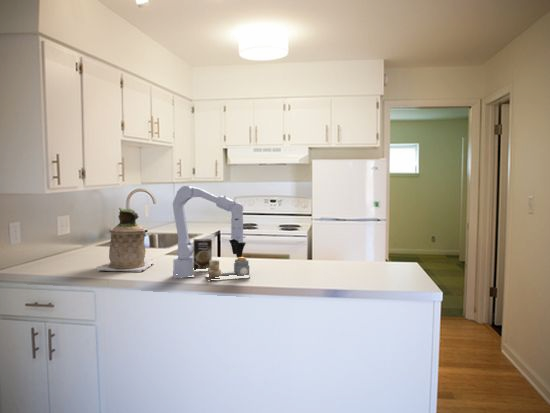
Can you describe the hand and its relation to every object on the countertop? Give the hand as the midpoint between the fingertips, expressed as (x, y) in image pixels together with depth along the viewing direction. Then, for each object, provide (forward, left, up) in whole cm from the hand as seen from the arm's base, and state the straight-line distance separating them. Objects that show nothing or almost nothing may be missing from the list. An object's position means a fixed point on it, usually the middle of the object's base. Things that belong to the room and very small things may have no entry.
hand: (237, 255), depth 197 cm
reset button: (+2, 0, -3) cm, 4 cm away
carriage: (-11, 0, -9) cm, 14 cm away
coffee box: (-14, +19, -11) cm, 26 cm away
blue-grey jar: (+2, 0, -10) cm, 10 cm away
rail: (-7, 0, -11) cm, 13 cm away
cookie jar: (-50, +38, -11) cm, 64 cm away
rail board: (-5, +1, -11) cm, 12 cm away
